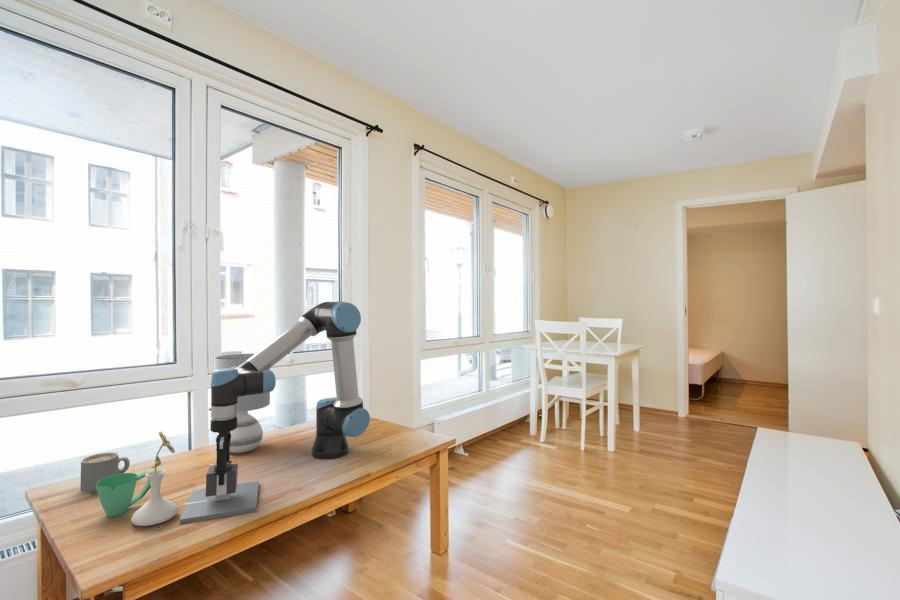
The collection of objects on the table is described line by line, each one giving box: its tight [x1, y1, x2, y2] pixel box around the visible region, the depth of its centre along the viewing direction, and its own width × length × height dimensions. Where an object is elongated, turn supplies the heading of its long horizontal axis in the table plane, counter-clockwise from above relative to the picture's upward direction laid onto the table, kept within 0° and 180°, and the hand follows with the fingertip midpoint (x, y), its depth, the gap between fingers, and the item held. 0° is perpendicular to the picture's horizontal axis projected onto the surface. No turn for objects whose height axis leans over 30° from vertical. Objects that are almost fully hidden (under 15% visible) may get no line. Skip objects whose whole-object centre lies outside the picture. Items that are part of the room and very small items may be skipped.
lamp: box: [213, 353, 271, 454], centre depth 180 cm, size 22×22×40 cm
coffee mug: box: [80, 451, 131, 494], centre depth 145 cm, size 13×10×10 cm
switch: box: [179, 480, 260, 525], centre depth 133 cm, size 20×20×6 cm
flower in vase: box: [130, 431, 179, 527], centre depth 123 cm, size 13×11×25 cm
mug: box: [96, 471, 151, 517], centre depth 129 cm, size 15×10×10 cm
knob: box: [205, 460, 239, 497], centre depth 133 cm, size 8×6×9 cm
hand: (222, 489), depth 133 cm, fingers closed on knob, 6 cm apart
